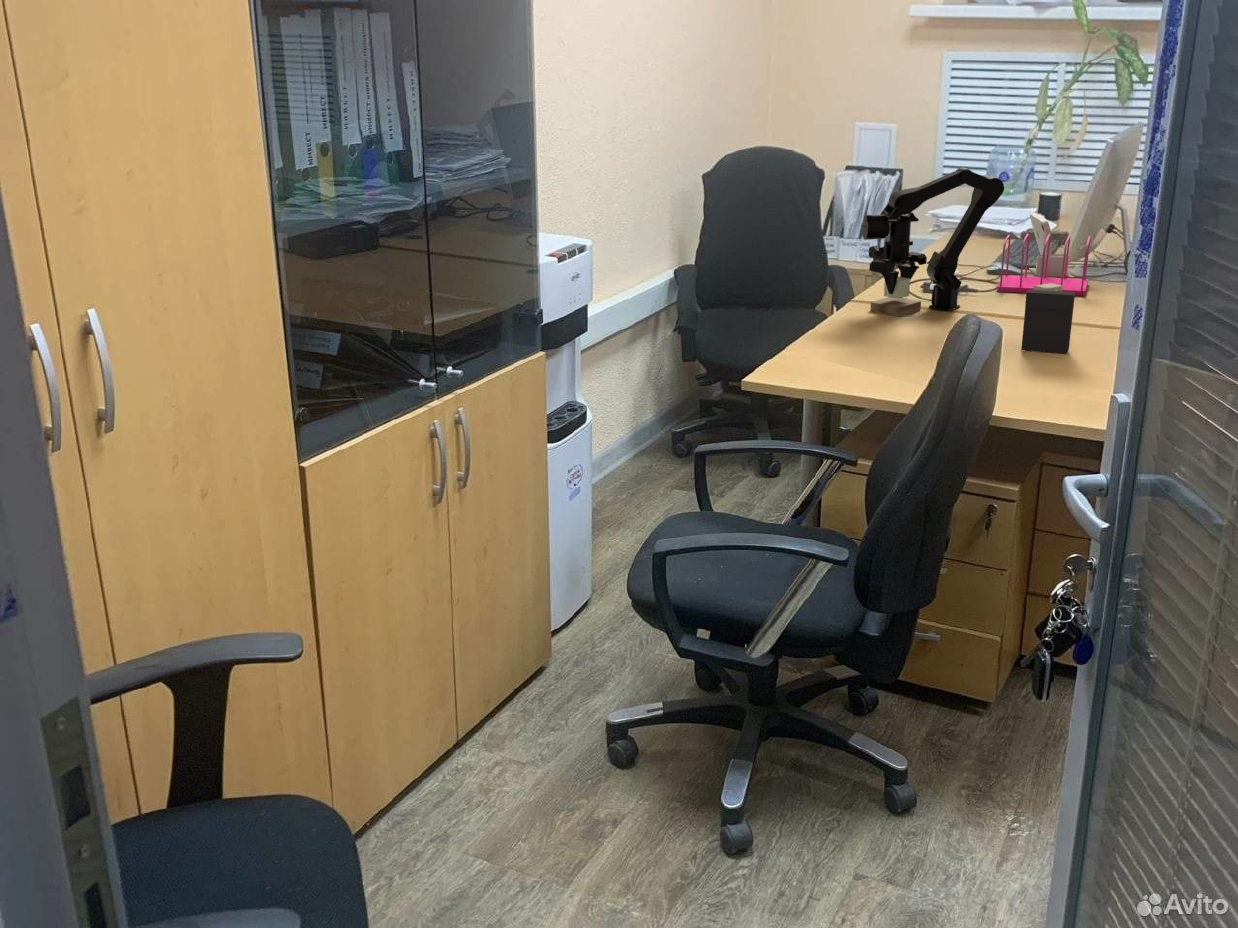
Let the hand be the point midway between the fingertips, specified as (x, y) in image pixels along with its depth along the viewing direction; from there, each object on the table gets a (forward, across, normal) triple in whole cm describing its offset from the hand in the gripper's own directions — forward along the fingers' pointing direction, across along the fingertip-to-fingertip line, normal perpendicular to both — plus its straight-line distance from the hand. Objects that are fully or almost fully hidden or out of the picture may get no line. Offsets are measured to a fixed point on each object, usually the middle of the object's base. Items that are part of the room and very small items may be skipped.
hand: (896, 292), depth 329 cm
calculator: (+6, +8, +53) cm, 54 cm away
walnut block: (+6, 0, 0) cm, 6 cm away
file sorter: (+6, -52, +14) cm, 55 cm away
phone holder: (+6, -74, +1) cm, 74 cm away
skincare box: (+6, -9, +42) cm, 43 cm away
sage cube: (+1, 0, 0) cm, 1 cm away
